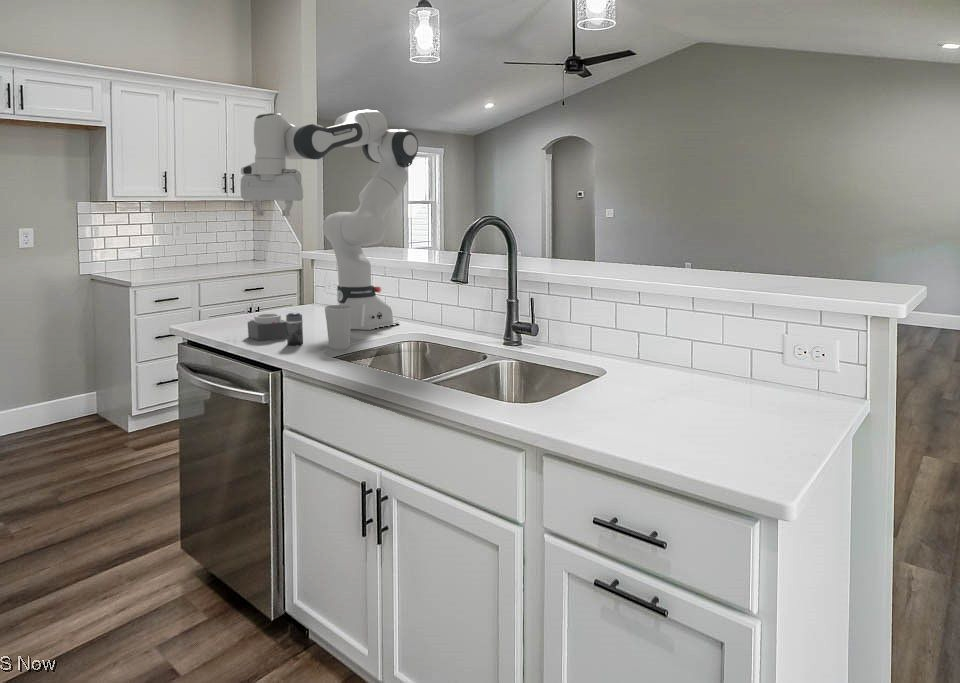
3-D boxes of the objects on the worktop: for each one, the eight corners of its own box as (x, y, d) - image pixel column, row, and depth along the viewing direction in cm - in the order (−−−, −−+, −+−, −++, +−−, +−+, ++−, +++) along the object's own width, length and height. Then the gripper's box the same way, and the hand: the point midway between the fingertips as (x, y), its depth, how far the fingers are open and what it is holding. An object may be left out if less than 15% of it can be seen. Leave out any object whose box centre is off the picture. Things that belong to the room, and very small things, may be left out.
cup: (320, 347, 207) (318, 307, 205) (339, 342, 214) (338, 304, 211) (339, 350, 203) (338, 309, 200) (358, 346, 209) (357, 306, 207)
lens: (299, 342, 214) (297, 311, 212) (306, 344, 210) (305, 313, 209) (284, 344, 211) (282, 313, 209) (291, 346, 207) (289, 315, 206)
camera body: (278, 333, 227) (277, 312, 226) (289, 337, 220) (288, 315, 219) (248, 337, 221) (247, 315, 219) (259, 341, 214) (258, 319, 213)
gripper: (306, 169, 208) (308, 216, 210) (249, 169, 214) (251, 215, 217) (294, 168, 202) (296, 216, 205) (236, 168, 209) (238, 215, 211)
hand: (272, 216), depth 211 cm, fingers open, 8 cm apart
